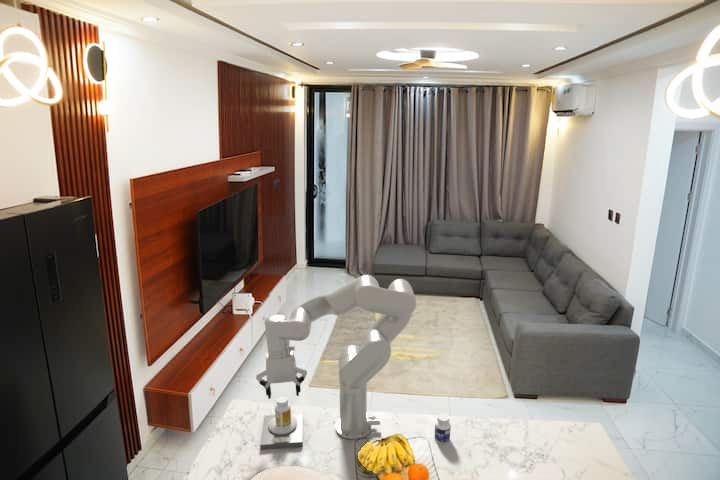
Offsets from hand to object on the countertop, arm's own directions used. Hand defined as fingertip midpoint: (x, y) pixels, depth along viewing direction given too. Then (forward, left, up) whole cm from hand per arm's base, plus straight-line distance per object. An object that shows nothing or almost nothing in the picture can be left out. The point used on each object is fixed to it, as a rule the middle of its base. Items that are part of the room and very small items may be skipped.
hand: (283, 395), depth 171 cm
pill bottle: (-54, +10, -15) cm, 57 cm away
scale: (+1, +1, -14) cm, 14 cm away
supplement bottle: (+1, 0, -12) cm, 12 cm away
